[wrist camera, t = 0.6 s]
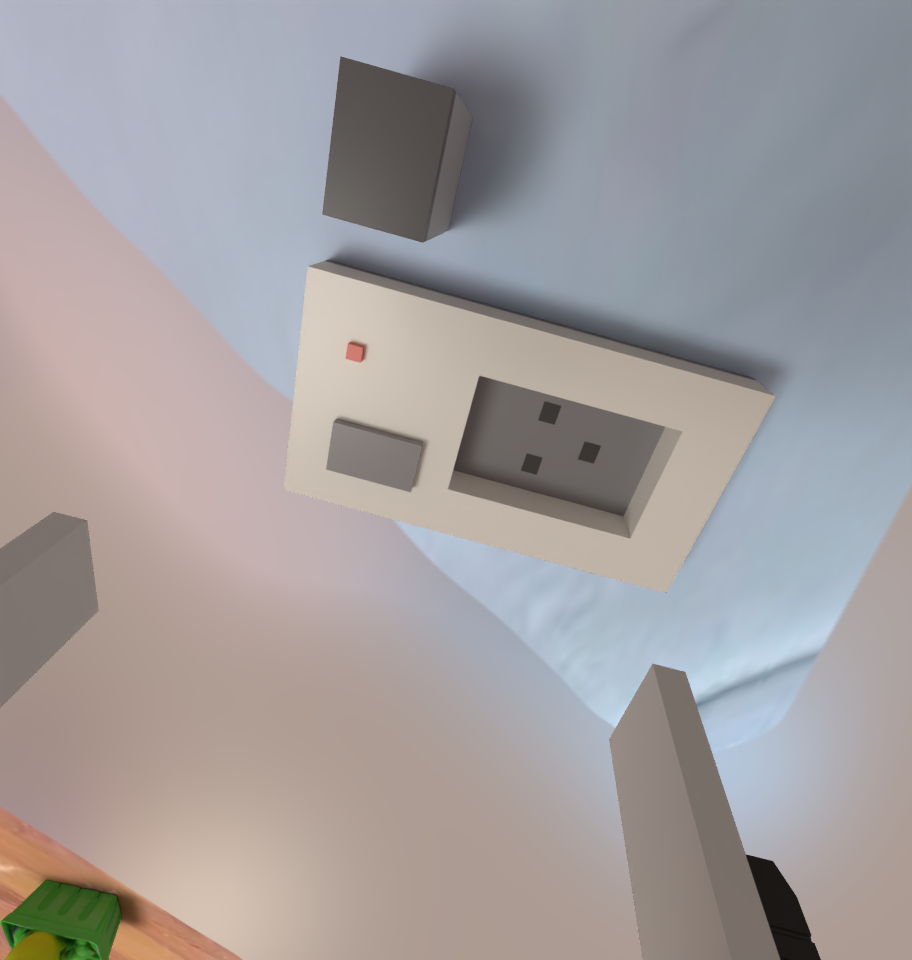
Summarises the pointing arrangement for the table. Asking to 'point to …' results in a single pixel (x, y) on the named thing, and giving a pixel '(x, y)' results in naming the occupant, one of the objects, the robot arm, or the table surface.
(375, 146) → the plug
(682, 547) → the socket plate
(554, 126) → the table surface
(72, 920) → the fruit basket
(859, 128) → the table surface
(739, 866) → the robot arm
